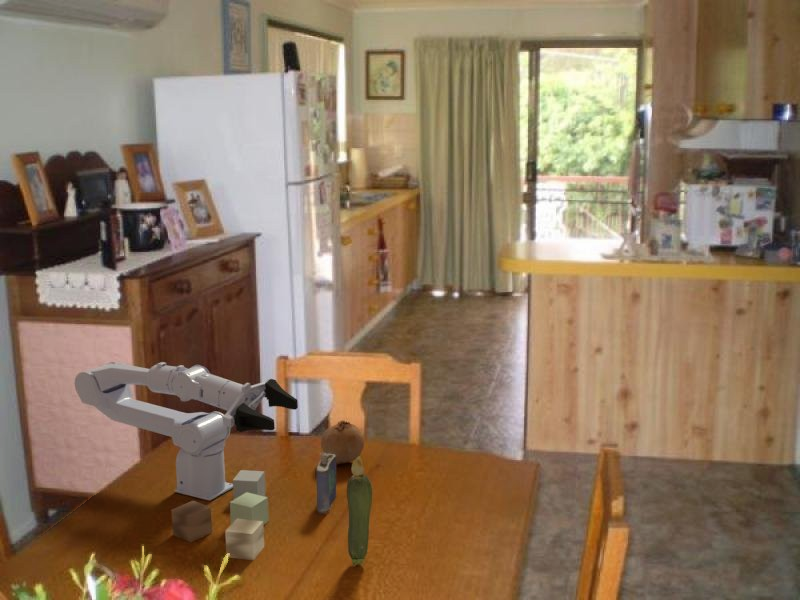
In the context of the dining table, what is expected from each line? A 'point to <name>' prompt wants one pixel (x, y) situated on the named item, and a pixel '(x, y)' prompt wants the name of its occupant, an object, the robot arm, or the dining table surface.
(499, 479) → the dining table surface
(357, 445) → the onion
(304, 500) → the dining table surface
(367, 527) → the vegetable
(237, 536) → the cream cube
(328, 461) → the flask
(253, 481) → the grey cube
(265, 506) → the green cube
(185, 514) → the walnut cube
